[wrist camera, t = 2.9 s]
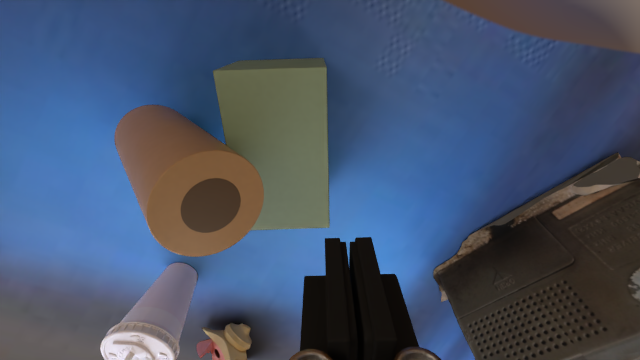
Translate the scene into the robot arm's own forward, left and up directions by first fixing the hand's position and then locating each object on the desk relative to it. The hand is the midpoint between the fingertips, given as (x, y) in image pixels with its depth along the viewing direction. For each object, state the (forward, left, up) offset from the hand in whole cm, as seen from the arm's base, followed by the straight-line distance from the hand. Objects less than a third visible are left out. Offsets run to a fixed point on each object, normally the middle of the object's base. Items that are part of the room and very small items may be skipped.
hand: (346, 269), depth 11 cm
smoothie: (-17, -17, -18) cm, 30 cm away
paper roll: (-11, 0, -18) cm, 21 cm away
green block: (-4, 0, -18) cm, 18 cm away
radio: (+22, -13, -18) cm, 31 cm away
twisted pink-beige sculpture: (-13, -29, -18) cm, 37 cm away
